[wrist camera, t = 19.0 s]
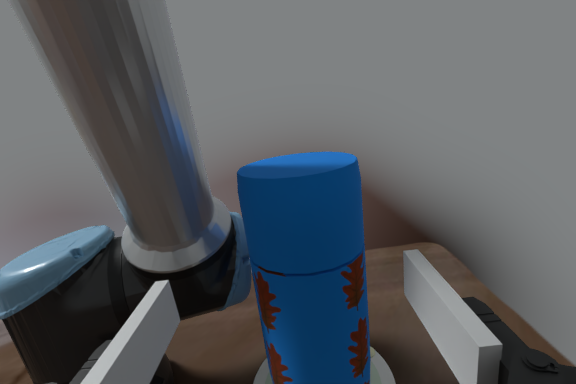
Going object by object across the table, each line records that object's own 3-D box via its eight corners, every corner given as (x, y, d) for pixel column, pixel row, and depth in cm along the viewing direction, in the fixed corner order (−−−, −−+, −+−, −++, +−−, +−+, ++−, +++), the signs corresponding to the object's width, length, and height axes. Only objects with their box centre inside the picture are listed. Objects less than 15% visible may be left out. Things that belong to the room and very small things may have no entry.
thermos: (254, 383, 34) (213, 171, 27) (319, 332, 40) (299, 150, 33) (325, 462, 26) (291, 186, 19) (392, 381, 32) (385, 153, 25)
